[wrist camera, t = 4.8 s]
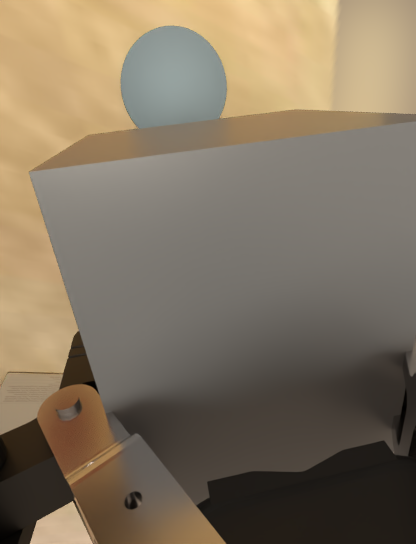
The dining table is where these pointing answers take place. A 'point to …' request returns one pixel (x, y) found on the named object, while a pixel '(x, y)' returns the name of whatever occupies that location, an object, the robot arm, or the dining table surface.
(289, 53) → the dining table surface
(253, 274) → the gray rectangular prism
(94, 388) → the robot arm
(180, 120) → the spot
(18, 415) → the product box
